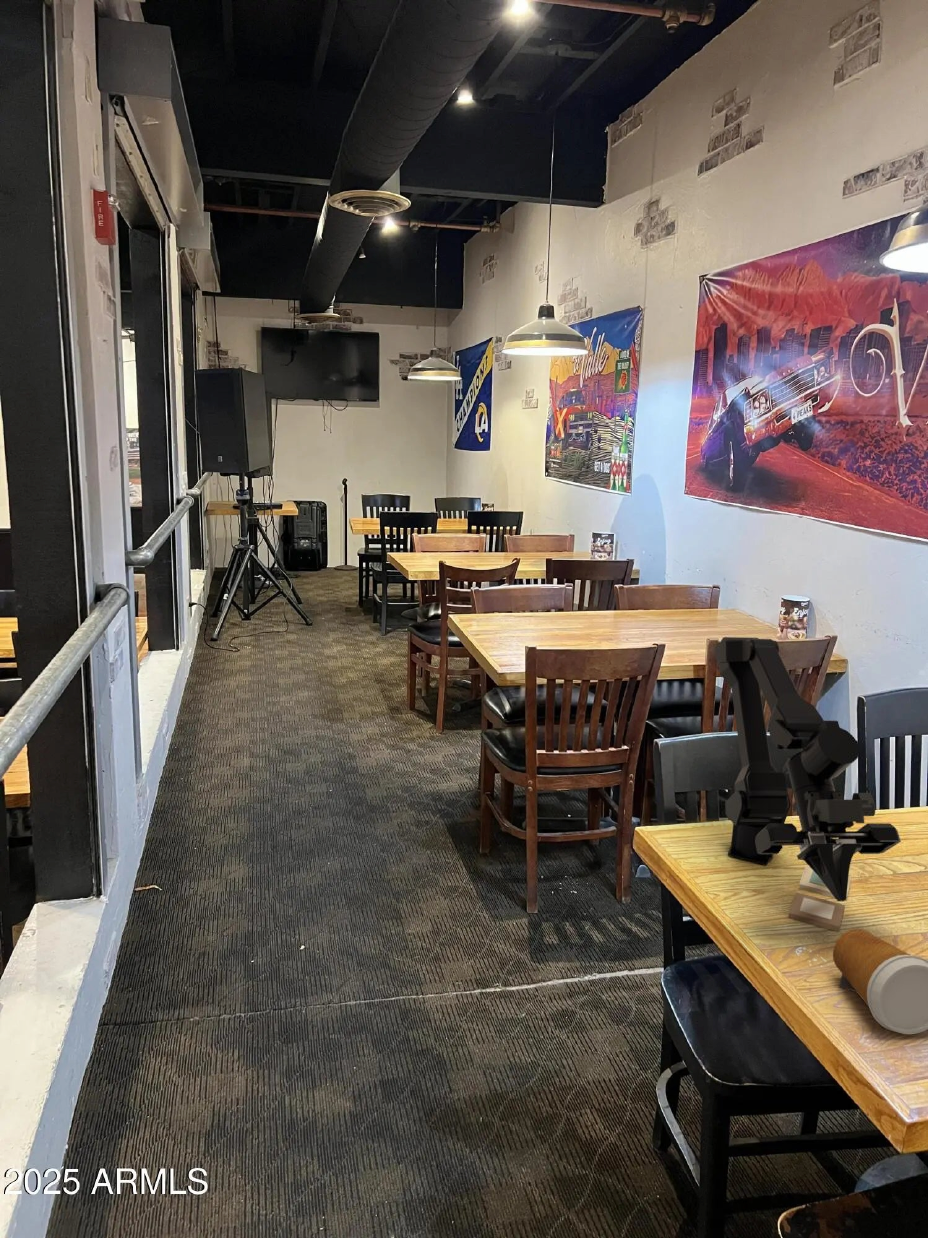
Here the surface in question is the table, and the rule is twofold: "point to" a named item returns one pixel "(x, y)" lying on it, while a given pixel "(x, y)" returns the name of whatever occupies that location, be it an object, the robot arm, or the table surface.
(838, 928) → the walnut marker tile
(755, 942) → the table surface
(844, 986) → the black coaster
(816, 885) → the birch marker tile
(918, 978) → the disposable coffee cup
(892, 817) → the table surface
